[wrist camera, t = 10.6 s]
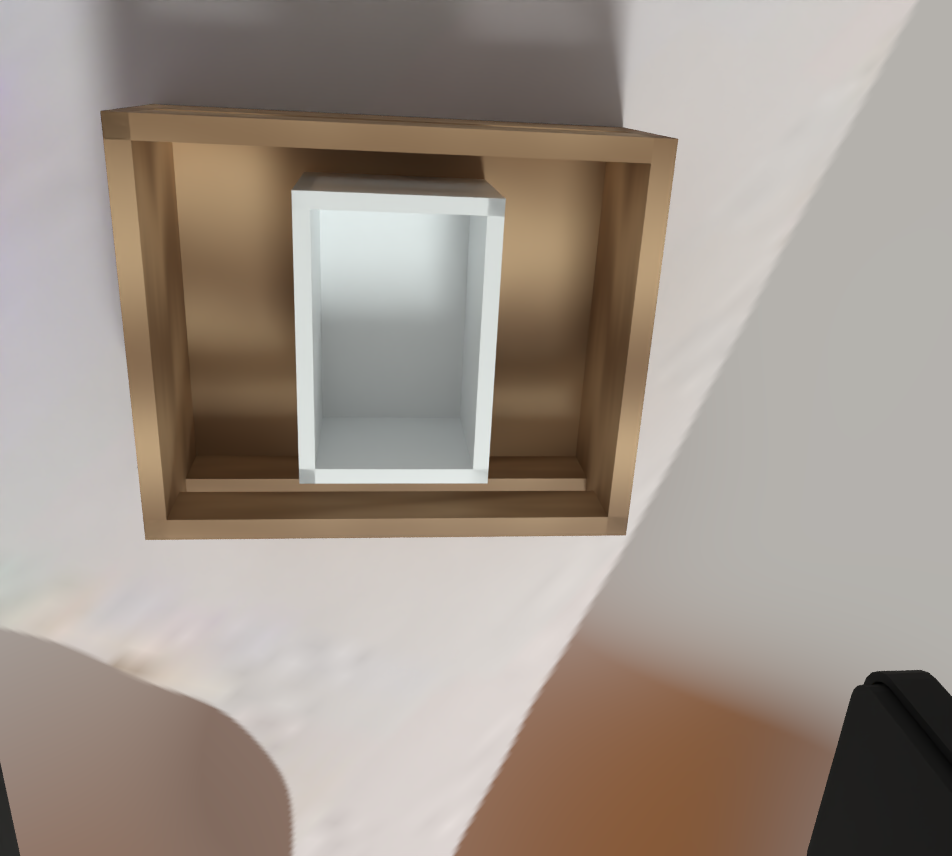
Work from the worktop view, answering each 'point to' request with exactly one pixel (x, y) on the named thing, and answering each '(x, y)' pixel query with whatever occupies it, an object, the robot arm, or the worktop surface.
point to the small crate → (395, 326)
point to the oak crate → (273, 318)
